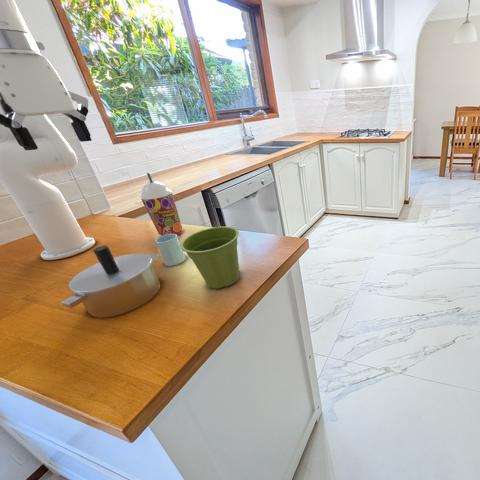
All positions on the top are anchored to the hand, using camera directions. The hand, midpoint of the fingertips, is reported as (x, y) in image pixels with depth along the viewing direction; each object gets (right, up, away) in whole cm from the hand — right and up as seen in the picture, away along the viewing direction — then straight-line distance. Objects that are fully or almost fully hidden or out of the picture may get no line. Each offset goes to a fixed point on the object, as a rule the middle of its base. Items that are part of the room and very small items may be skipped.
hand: (60, 145), depth 60 cm
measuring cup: (+13, -25, +18) cm, 34 cm away
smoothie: (+2, -18, +34) cm, 39 cm away
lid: (+9, -27, +2) cm, 28 cm away
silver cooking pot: (+10, -32, +5) cm, 34 cm away
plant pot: (+30, -29, +9) cm, 43 cm away
